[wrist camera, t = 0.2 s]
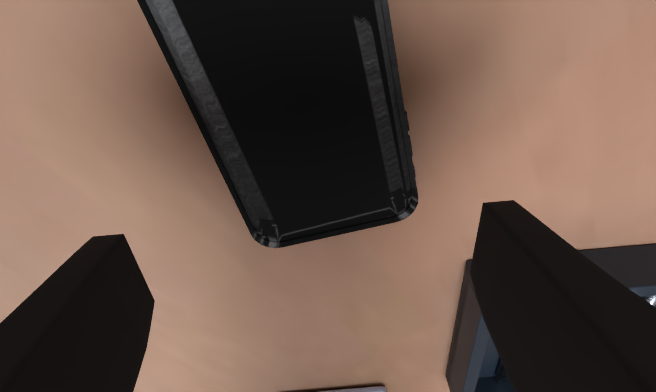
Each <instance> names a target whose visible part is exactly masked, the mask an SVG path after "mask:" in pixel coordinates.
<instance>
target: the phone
mask: <svg viewBox="0 0 656 392" xmlns="http://www.w3.org/2000/svg"><path fill="white" fill-rule="evenodd" d="M137 1H138V3H139V5H140V7H141V9H142V11H143V13H144V15H145V17H146V19H147V21H148V23H149V26H150V28H151V30H152V32H153V34H154V36H155V38H156V40H157V42H158V44H159V46H160V48H161V50H162V52H163V54H164V56H165V58H166V61H167V63H168V65H169V67H170V69H171V71H172V73H173V75H174V77H175V79H176V81H177V83H178V85H179V87H180V89H181V91H182V93H183V96H184V98H185V100H186V102H187V104H188V106H189V108H190V110H191V112H192V114H193V116H194V118H195V120H196V122H197V124H198V126H199V128H200V130H201V133H202V135H203V137H204V139H205V141H206V143H207V145H208V147H209V149H210V151H211V153H212V155H213V157H214V159H215V161H216V163H217V165H218V168H219V170H220V172H221V174H222V176H223V178H224V180H225V182H226V184H227V186H228V188H229V190H230V192H231V194H232V196H233V198H234V200H235V203H236V205H237V207H238V209H239V211H240V213H241V215H242V217H243V219H244V221H245V223H246V225H247V227H248V229H249V231H250V233H251V235H252V237H253V238H254V239H255V241H257V242H258V243H260V244H261V245H264V246H267V247H272V248H280V247H286V246H290V245H295V244H299V243H304V242H308V241H313V240H317V239H322V238H326V237H331V236H336V235H340V234H345V233H349V232H354V231H358V230H363V229H367V228H372V227H376V226H381V225H385V224H390V223H394V222H398V221H401V220H403V219H405V218H407V217H408V216H410V215H411V214H412V213H413V212H414V210H415V209H416V207H417V204H418V193H417V187H416V181H415V177H416V176H415V169H414V165H413V161H412V156H413V154H412V147H411V141H410V136H409V135H408V131H409V125H408V118H407V112H406V111H405V110H404V104H403V97H402V91H401V84H400V78H399V72H398V65H397V59H396V52H395V46H394V40H393V33H392V27H391V20H390V14H389V7H388V1H387V0H137Z"/></svg>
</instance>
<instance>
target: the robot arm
mask: <svg viewBox="0 0 656 392" xmlns="http://www.w3.org/2000/svg"><path fill="white" fill-rule="evenodd" d="M470 276H471V280H472V283H473V287H474V290H475V294H476V297H477V301H478V304H479V307H480V310H481V313H482V317H483V319H484V322H485V324H486V326H487V329H488V331H489V334H490V336H491V338H492V340H493V343H494V345H495V347H496V350H497V352H498V354H499V357H500V359H501V361H502V363H503V366H504V368H505V370H506V372H507V375H508V377H509V379H510V381H511V384H512V386H513V388H514V391H515V392H656V307H655V306H653V305H652V304H650V303H649V302H647V301H646V300H644V299H643V298H642V297H640V296H639V295H637V294H636V293H634V292H633V291H631V290H630V289H629V288H627V287H626V286H624V285H623V284H622V283H620V282H619V281H618V280H616V279H615V278H613V277H612V276H611V275H609V274H608V273H607V272H605V271H604V270H603V269H601V268H600V267H599V266H597V265H596V264H595V263H593V262H592V261H591V260H589V259H588V258H587V257H585V256H584V255H583V254H582V253H580V252H579V251H578V250H576V249H575V248H574V247H572V246H571V245H570V244H569V243H567V242H566V241H565V240H564V239H562V238H561V237H560V236H559V235H557V234H556V233H555V232H553V231H552V230H551V229H550V228H548V227H547V226H546V225H545V224H543V223H542V222H541V221H540V220H538V219H537V218H536V217H535V216H533V215H532V214H531V213H529V212H528V211H527V210H526V209H524V208H523V207H522V206H520V205H519V204H518V203H516V202H515V201H514V200H511V201H500V202H488V203H483V206H482V211H481V217H480V222H479V227H478V232H477V238H476V243H475V248H474V253H473V259H472V264H471V269H470ZM153 308H154V298H153V296H152V294H151V292H150V290H149V288H148V286H147V283H146V281H145V279H144V277H143V275H142V273H141V270H140V268H139V266H138V264H137V262H136V260H135V257H134V255H133V253H132V251H131V249H130V247H129V245H128V242H127V240H126V238H125V236H124V234H118V235H106V236H95V237H92V238H91V239H90V240H89V241H88V242H86V243H85V244H84V245H83V246H82V247H81V248H80V249H79V250H77V251H76V252H75V253H74V254H73V255H72V256H71V257H70V258H69V259H68V260H67V261H66V262H65V263H64V264H63V265H61V266H60V267H59V268H58V269H57V270H56V271H55V272H54V273H53V274H52V275H51V276H50V277H49V278H48V279H47V280H46V281H45V282H44V283H43V284H42V285H41V286H40V287H38V288H37V289H36V290H35V291H34V292H33V293H32V294H31V295H30V296H29V297H28V298H27V299H26V300H25V301H24V302H22V303H21V304H20V305H19V306H18V307H17V308H16V309H15V310H14V311H13V312H12V313H11V314H10V315H9V316H8V317H6V318H5V319H4V320H3V321H2V322H1V323H0V392H133V391H134V387H135V384H136V381H137V378H138V374H139V371H140V368H141V365H142V361H143V358H144V355H145V351H146V348H147V342H148V337H149V332H150V327H151V320H152V314H153ZM319 392H387V391H386V388H385V387H383V386H375V387H364V388H352V389H341V390H330V391H319Z"/></svg>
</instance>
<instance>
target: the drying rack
mask: <svg viewBox="0 0 656 392" xmlns="http://www.w3.org/2000/svg"><path fill="white" fill-rule="evenodd" d="M579 252H580V253H582V254H583V255H584V256H585V257H587V258H588V259H589V260H591V261H592V262H593V263H595V264H596V265H597V266H599V267H600V268H601V269H603V270H604V271H605V272H607V273H608V274H609V275H611V276H612V277H613V278H615V279H616V280H618V281H619V282H620V283H622V284H623V285H624V286H626V287H627V288H629V289H630V290H631V291H633V292H634V293H636V294H637V295H639V296H640V297H642V298H643V299H644V300H646V301H647V302H649V303H650V304H652V305H653V306H655V307H656V244H651V245H639V246H628V247H616V248H604V249H593V250H581V251H579ZM471 264H472V260H467V264H466V269H465V274H464V280H463V285H462V291H461V296H460V301H459V307H458V312H457V318H456V323H455V328H454V334H453V339H452V345H451V350H450V355H449V361H448V366H447V372H446V379H447V382H448V385H449V389H450V392H515V391H514V388H513V386H512V384H511V381H510V379H509V377H508V375H507V372H506V370H505V368H504V366H503V363H502V361H501V359H500V357H499V354H498V352H497V350H496V347H495V345H494V343H493V340H492V338H491V336H490V334H489V331H488V329H487V326H486V324H485V322H484V319H483V317H482V313H481V310H480V307H479V304H478V301H477V297H476V294H475V290H474V287H473V283H472V280H471V276H470V269H471Z"/></svg>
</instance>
